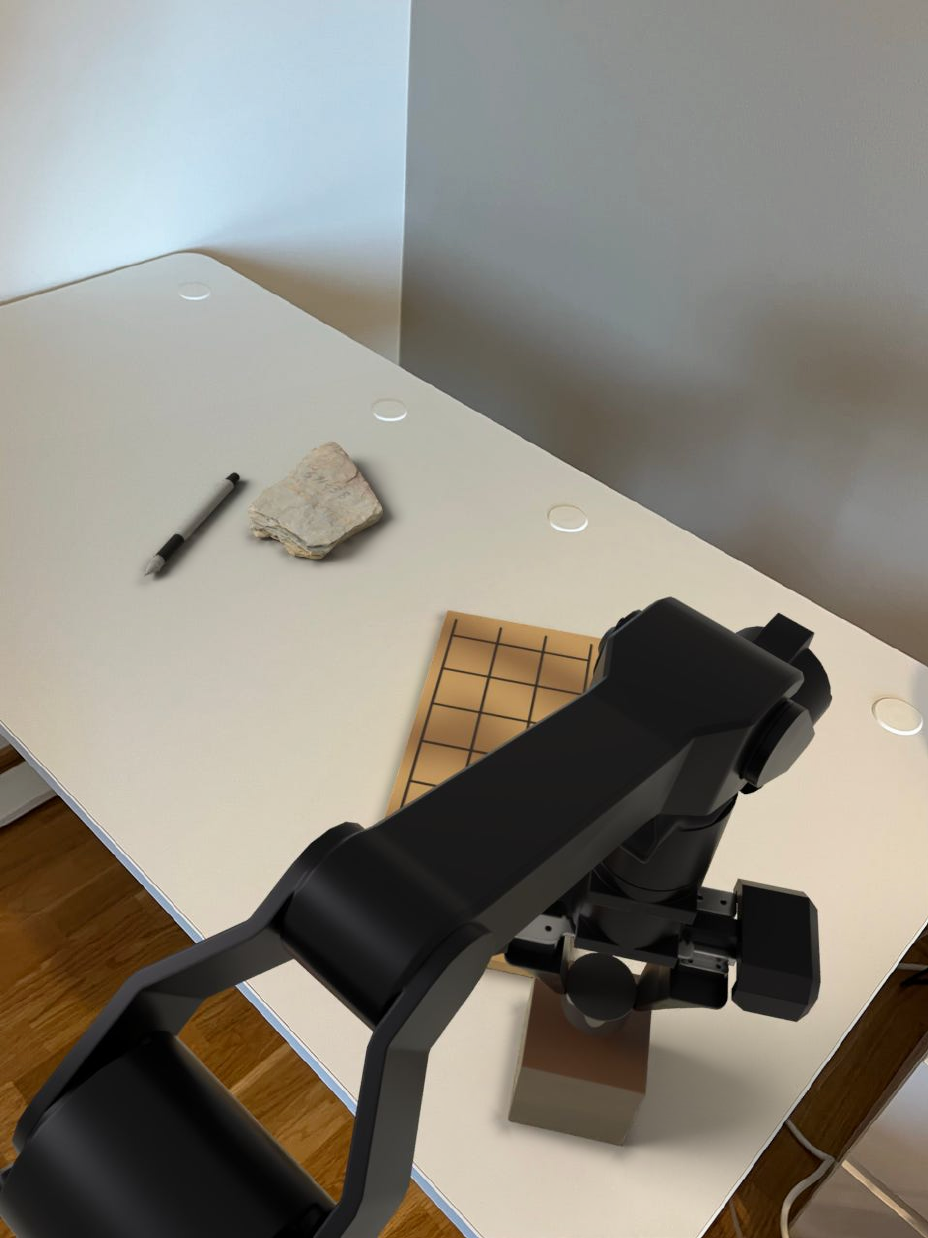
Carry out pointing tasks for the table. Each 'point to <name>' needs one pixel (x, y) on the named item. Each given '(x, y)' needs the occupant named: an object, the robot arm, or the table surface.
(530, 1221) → the table surface
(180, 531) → the pen
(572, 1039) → the stone stand
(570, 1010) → the game stone
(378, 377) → the table surface
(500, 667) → the board
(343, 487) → the stone
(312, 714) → the table surface
